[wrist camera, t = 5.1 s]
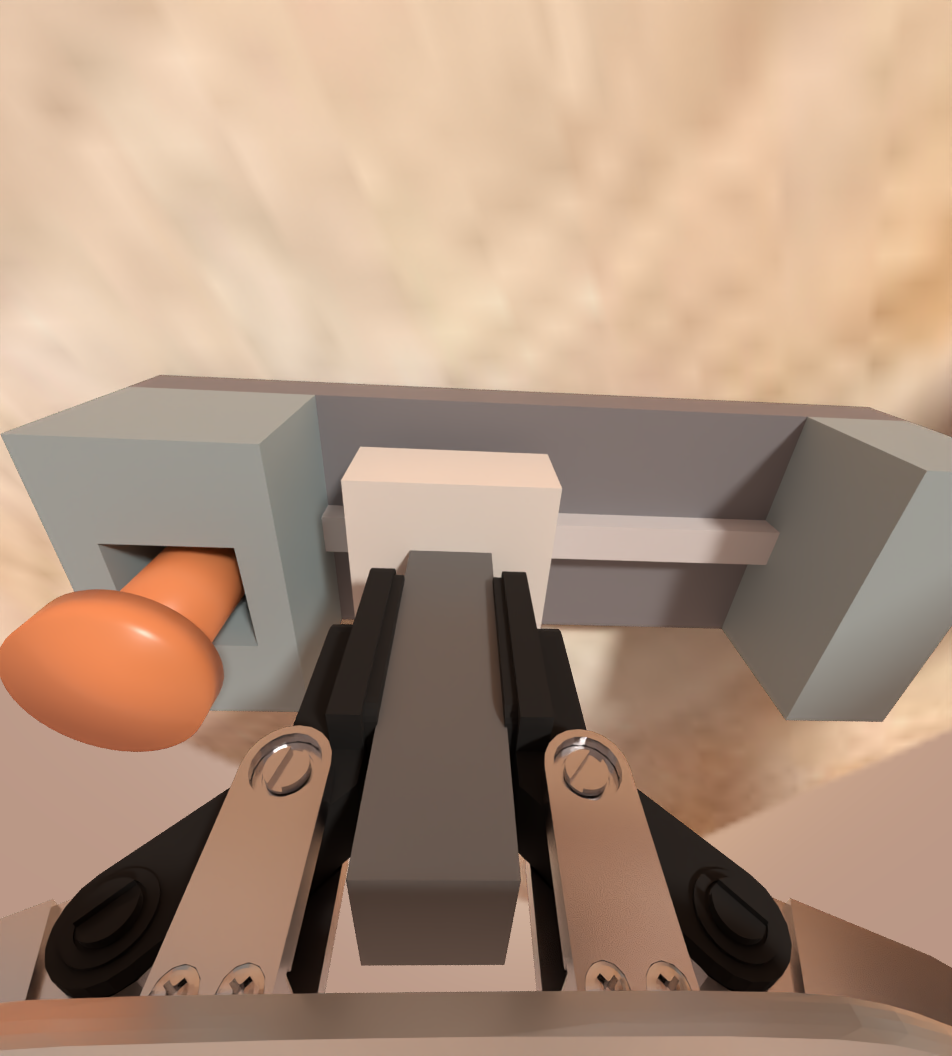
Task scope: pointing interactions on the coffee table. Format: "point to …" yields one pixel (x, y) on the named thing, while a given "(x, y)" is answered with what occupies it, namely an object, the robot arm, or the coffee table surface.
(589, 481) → the rail board
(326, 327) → the coffee table surface
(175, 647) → the button
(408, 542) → the carriage
